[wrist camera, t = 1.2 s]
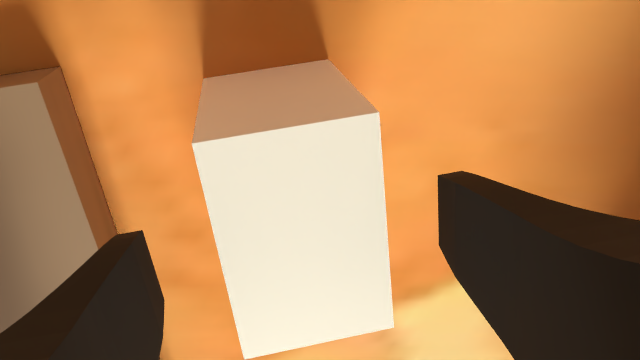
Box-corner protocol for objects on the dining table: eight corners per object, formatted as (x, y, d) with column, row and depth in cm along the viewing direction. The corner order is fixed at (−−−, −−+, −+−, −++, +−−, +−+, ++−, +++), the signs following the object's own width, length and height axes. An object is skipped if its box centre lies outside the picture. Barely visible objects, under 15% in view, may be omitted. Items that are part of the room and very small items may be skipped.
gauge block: (328, 58, 16) (379, 112, 11) (345, 219, 19) (393, 327, 13) (203, 78, 16) (192, 144, 10) (238, 239, 18) (244, 359, 13)
